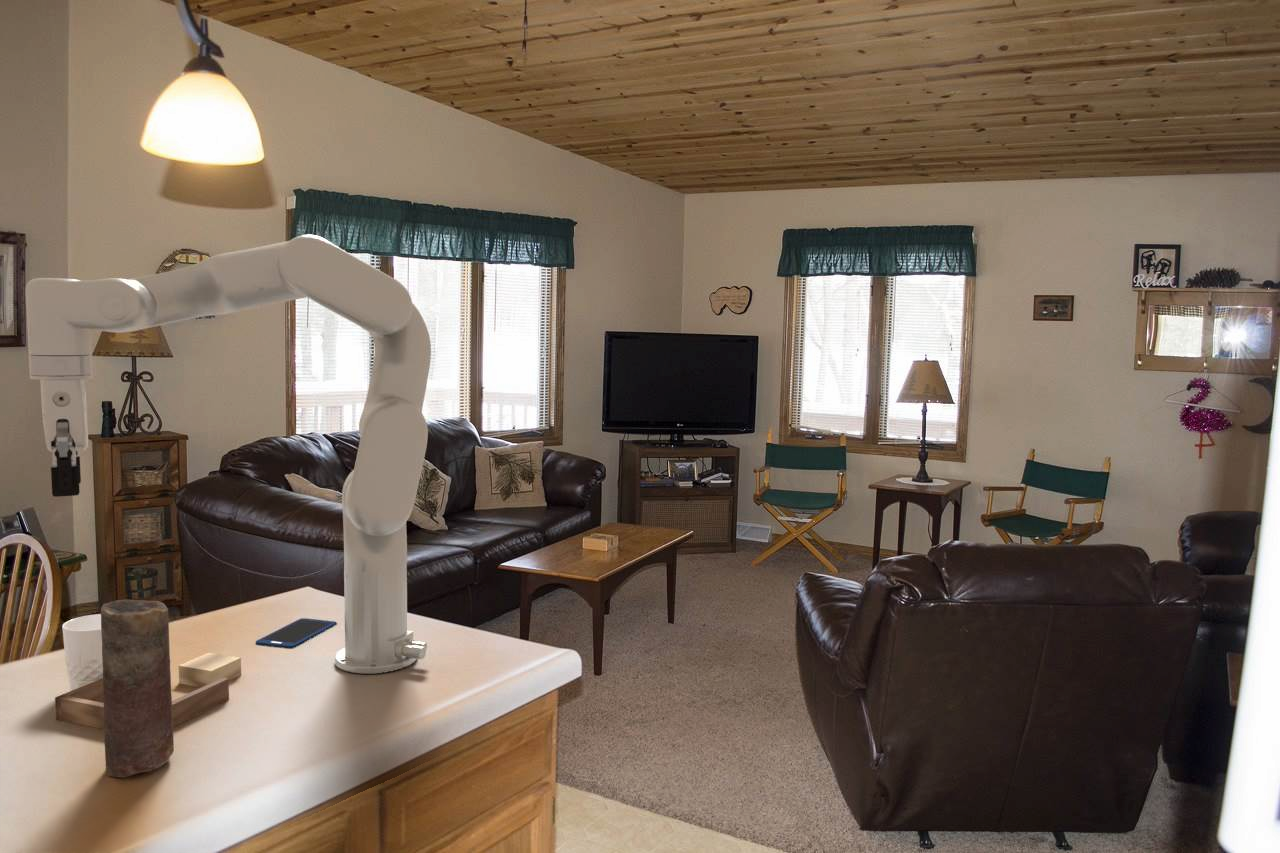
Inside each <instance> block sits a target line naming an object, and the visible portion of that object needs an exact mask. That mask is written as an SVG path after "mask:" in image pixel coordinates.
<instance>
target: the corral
mask: <svg viewBox="0 0 1280 853" xmlns="http://www.w3.org/2000/svg"><path fill="white" fill-rule="evenodd" d="M229 682H230V681H229V679H228V678H221V679H219V680H217V681H214V682H212V683H210V684H208V685H206V686H204V687H198V688H197V689H196V690H193V691H191V692H189V693H187V694H185V695H182V696H180V697H177V698H176V699H172V712H173V728H174V727H175V726H177V725H180V724H181V723H184V722H185V721H187V720H190V719H191V718H194V717H196V716H197V715H200V714H201V713H204V712H206V711H208V710H210V709H212V708H214V707H216V706H218V705H220V704H222V703H224V702H227V701H228V700H229V699H230V683H229ZM54 702H55V719H56V720H58V719H59V721H64V722H69V723H72V724H73V723H74V724H77V725H84V726H88V727H90V728H91V727H92V728H97V729H102V730H104V700H103V678H102V679H100V680H97V681H95V682H92V683H90V684H87V685H85V686H82V687H80V688H77V689H75V690H72V691H70V690H69V691H67V692H66V693H65V692H64V693H62V694H61V695H57V696H55V697H54Z"/></svg>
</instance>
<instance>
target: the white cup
mask: <svg viewBox="0 0 1280 853" xmlns="http://www.w3.org/2000/svg"><path fill="white" fill-rule="evenodd" d="M61 626H62V629H61V630H62V638H63V647H64V648H63V649H64V656H65V664H66V674H67V676H68V688H69V692H70V691H72V690H75V689H77V688H80V687H82V686H85V685H87V684H90V683H92V682H95V681H97V680H100V679H102V678H103V664H102V634H101V613H97V614H88V615H82V616H78V617H75V618H72V619H70V620H67V621H66V622H63V624H62V625H61Z"/></svg>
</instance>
